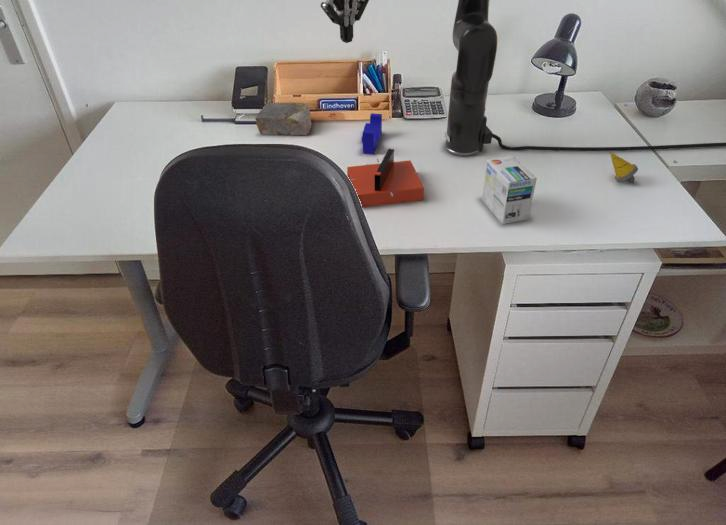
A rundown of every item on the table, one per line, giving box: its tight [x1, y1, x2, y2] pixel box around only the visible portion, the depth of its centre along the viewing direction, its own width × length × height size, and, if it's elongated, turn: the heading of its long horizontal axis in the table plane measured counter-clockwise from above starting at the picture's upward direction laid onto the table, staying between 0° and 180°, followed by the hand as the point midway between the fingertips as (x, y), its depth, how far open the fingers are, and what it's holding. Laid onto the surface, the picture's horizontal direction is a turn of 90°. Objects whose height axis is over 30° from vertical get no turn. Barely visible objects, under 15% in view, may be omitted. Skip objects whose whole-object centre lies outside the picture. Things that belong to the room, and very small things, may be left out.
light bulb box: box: [481, 155, 538, 225], centre depth 121 cm, size 11×7×11 cm, turn 17°
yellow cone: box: [609, 151, 639, 184], centre depth 131 cm, size 5×5×10 cm
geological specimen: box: [255, 102, 313, 137], centre depth 157 cm, size 11×6×15 cm
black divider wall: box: [375, 148, 395, 191], centre depth 128 cm, size 13×1×4 cm, turn 164°
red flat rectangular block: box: [346, 158, 425, 208], centre depth 130 cm, size 17×17×4 cm
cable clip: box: [361, 112, 383, 155], centre depth 148 cm, size 12×4×6 cm, turn 168°
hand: (347, 41), depth 127 cm, fingers closed
